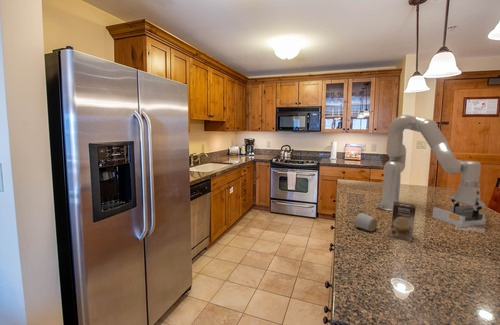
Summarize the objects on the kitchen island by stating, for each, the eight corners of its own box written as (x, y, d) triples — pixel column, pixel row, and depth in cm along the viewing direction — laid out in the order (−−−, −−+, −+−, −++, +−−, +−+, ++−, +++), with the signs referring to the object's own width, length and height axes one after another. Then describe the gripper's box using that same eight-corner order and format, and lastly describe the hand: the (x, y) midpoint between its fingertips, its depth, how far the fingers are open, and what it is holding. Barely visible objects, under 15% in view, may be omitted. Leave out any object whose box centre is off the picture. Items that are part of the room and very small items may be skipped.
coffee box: (389, 237, 123) (392, 204, 121) (390, 232, 129) (393, 201, 127) (412, 241, 119) (415, 207, 116) (412, 236, 124) (415, 204, 122)
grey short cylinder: (369, 233, 127) (371, 218, 126) (354, 228, 134) (355, 213, 133) (380, 229, 133) (382, 214, 132) (365, 224, 140) (366, 210, 139)
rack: (461, 227, 137) (462, 216, 136) (432, 217, 152) (433, 207, 152) (483, 224, 141) (485, 214, 140) (452, 215, 157) (453, 205, 156)
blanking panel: (461, 223, 140) (463, 208, 139) (453, 220, 144) (455, 206, 143) (474, 221, 143) (476, 207, 142) (466, 219, 146) (468, 205, 145)
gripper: (492, 187, 133) (488, 219, 135) (457, 180, 150) (454, 209, 152) (482, 187, 131) (477, 220, 133) (447, 181, 148) (444, 210, 150)
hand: (465, 214), depth 143 cm, fingers open, 9 cm apart
